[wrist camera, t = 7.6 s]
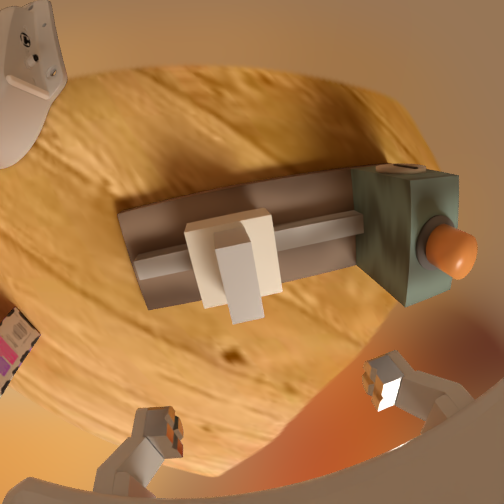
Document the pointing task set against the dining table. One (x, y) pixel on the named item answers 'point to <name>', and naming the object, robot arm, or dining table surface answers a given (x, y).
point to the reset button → (451, 250)
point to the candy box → (14, 345)
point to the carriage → (235, 261)
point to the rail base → (235, 201)
